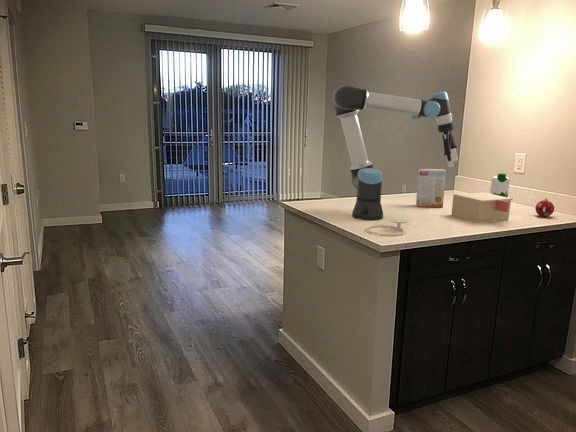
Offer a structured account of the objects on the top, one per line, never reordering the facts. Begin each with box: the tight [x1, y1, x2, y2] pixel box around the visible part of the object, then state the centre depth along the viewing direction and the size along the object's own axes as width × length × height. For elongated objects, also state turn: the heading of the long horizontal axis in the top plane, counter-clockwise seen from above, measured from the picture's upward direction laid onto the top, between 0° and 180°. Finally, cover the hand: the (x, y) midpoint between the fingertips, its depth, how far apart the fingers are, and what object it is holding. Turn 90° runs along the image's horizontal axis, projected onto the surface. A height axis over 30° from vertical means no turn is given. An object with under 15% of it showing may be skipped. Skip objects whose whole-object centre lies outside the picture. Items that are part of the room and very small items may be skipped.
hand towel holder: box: [365, 218, 409, 237], centre depth 207 cm, size 17×4×21 cm
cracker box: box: [415, 168, 447, 209], centre depth 263 cm, size 14×6×21 cm, turn 84°
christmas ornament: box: [535, 197, 555, 218], centre depth 245 cm, size 9×9×10 cm
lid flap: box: [453, 191, 514, 212], centre depth 235 cm, size 20×25×5 cm
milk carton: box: [489, 173, 510, 198], centre depth 258 cm, size 9×9×20 cm
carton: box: [451, 196, 512, 224], centre depth 239 cm, size 20×18×10 cm
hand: (453, 163), depth 243 cm, fingers open, 13 cm apart
